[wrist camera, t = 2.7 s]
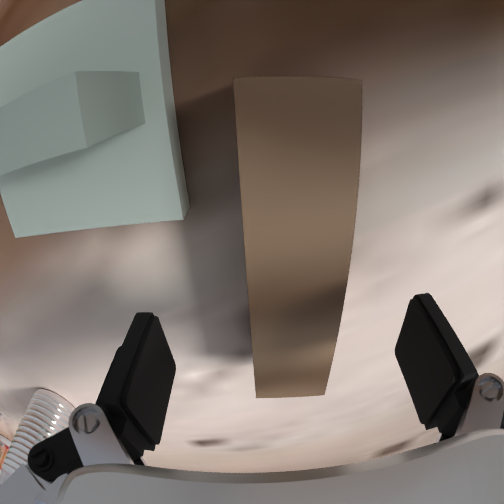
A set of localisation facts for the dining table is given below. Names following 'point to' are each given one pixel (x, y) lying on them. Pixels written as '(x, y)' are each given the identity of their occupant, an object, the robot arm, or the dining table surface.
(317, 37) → the dining table surface
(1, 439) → the fruit juice
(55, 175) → the block
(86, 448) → the robot arm
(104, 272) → the dining table surface
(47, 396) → the water bottle
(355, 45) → the dining table surface
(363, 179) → the dining table surface
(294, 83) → the walnut bar
